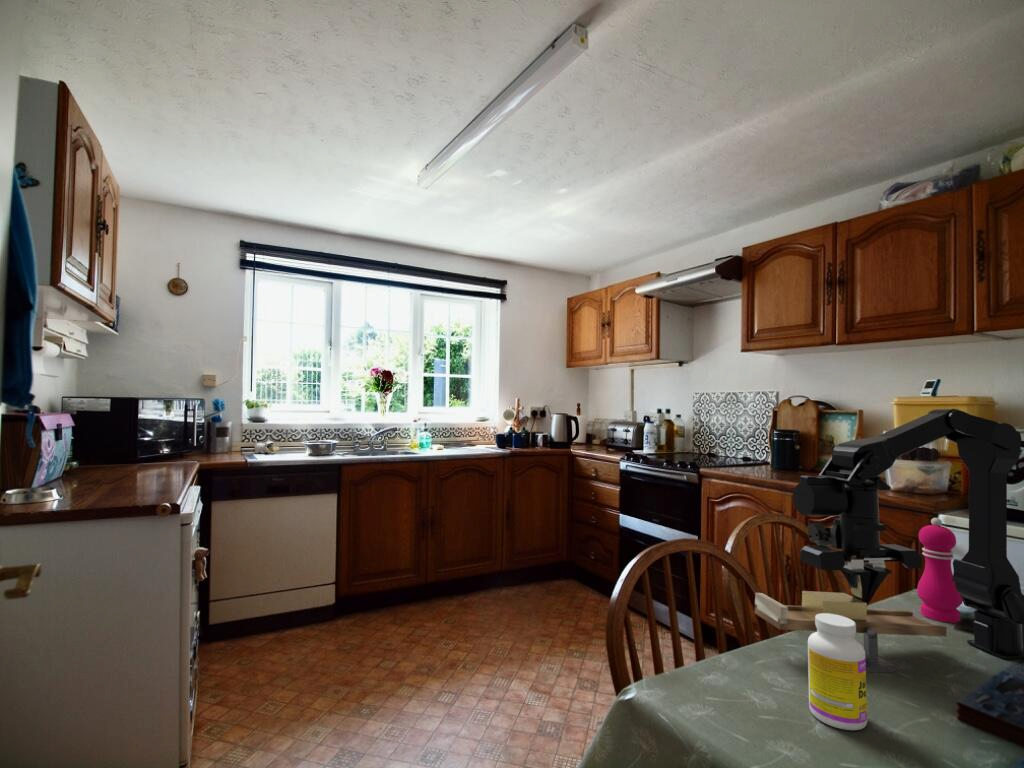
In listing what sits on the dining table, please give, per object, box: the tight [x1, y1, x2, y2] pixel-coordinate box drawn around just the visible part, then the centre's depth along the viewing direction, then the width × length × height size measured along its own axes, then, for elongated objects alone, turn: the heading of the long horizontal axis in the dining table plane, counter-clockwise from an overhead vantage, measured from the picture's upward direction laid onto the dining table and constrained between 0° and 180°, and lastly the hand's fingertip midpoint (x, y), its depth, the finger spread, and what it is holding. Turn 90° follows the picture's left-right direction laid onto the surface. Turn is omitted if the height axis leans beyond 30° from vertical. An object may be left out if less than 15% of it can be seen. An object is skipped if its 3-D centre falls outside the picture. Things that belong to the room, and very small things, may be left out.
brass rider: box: [801, 590, 868, 622], centre depth 88 cm, size 8×5×4 cm, turn 97°
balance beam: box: [754, 592, 948, 637], centre depth 88 cm, size 30×7×4 cm, turn 97°
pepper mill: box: [916, 517, 963, 624], centre depth 106 cm, size 7×7×20 cm
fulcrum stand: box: [862, 627, 897, 674], centre depth 88 cm, size 6×12×6 cm, turn 7°
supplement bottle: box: [807, 613, 868, 731], centre depth 70 cm, size 7×7×13 cm
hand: (861, 607), depth 89 cm, fingers closed
